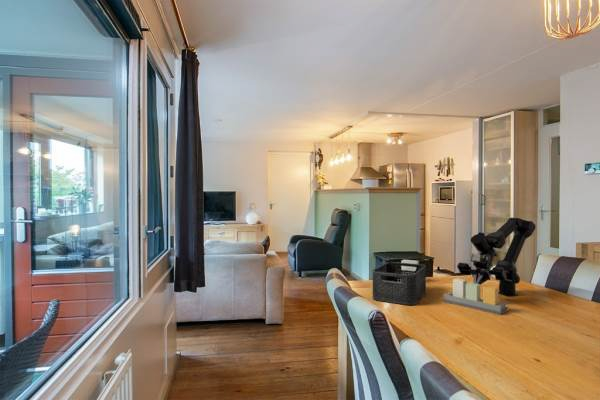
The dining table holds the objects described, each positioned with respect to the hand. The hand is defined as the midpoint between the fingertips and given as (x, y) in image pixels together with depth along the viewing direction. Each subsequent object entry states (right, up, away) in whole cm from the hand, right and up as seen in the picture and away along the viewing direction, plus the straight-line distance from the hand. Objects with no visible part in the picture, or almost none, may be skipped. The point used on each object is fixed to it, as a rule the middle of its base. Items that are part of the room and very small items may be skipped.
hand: (475, 287), depth 147 cm
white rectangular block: (-4, -6, +6) cm, 9 cm away
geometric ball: (+36, -7, +45) cm, 58 cm away
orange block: (+3, -6, -7) cm, 10 cm away
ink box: (-15, -8, +40) cm, 44 cm away
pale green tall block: (-2, -6, -1) cm, 7 cm away
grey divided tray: (0, -8, 0) cm, 8 cm away
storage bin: (-27, -8, +16) cm, 33 cm away
